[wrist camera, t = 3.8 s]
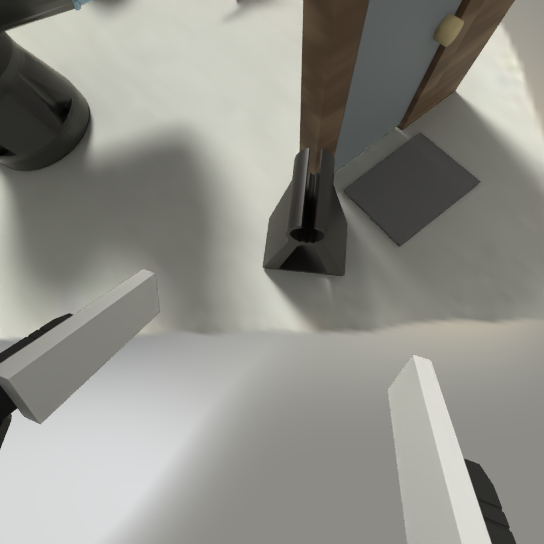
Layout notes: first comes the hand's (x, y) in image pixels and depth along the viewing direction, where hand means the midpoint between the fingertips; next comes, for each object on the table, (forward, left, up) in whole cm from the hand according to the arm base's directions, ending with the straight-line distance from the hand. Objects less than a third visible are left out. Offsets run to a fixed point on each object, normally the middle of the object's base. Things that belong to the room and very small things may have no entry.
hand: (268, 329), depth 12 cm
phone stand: (-6, +8, -14) cm, 17 cm away
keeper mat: (-4, +22, -14) cm, 26 cm away
